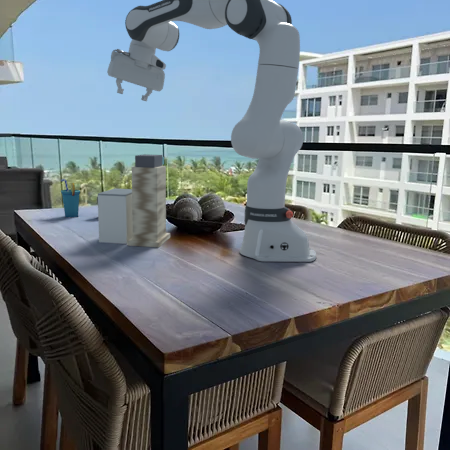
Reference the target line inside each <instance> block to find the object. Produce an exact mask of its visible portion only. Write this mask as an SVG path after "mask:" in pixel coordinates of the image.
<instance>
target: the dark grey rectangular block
mask: <svg viewBox="0 0 450 450" xmlns="http://www.w3.org/2000/svg"><path fill="white" fill-rule="evenodd" d="M134 159H135V160H134V161H135V163H134V164H135V165H134V167H144V168H156V167H160V166H164V165H165V157H164V156H163V154H148V153H147V154H146V153H144V154H143V153H142V154H137V155H134Z"/></svg>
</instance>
